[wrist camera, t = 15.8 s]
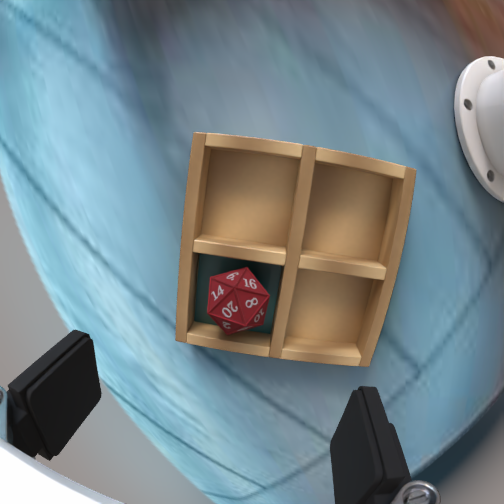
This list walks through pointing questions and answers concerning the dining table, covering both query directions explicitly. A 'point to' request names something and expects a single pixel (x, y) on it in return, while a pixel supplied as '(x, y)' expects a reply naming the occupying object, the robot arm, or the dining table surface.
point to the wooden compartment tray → (293, 245)
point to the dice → (237, 301)
